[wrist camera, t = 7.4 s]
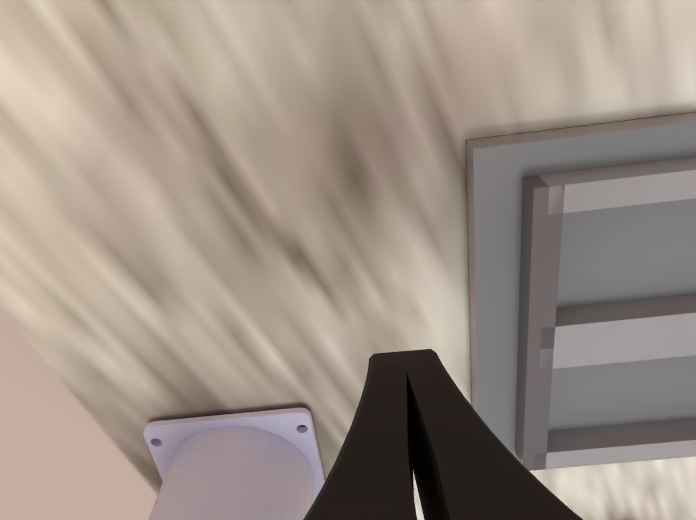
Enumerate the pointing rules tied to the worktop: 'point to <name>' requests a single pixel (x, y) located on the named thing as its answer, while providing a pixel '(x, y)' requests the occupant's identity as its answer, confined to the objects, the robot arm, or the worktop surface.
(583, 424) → the gray compartment tray
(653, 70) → the worktop surface
